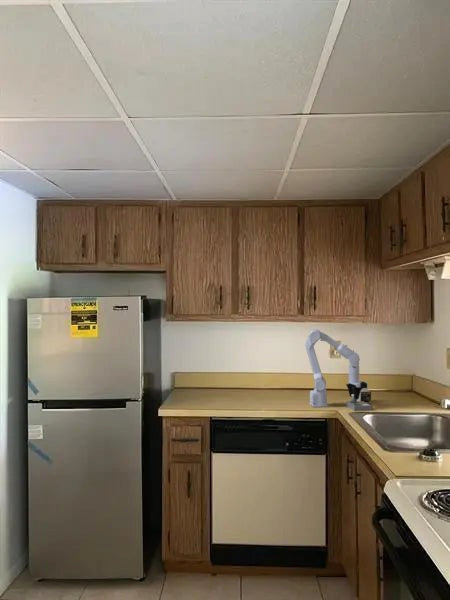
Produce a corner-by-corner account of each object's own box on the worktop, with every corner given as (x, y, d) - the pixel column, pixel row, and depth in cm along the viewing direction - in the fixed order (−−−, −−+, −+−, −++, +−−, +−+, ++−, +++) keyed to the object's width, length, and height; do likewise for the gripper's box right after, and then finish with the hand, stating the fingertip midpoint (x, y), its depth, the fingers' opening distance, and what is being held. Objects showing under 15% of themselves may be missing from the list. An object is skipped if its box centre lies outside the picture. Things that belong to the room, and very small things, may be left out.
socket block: (354, 410, 269) (354, 406, 269) (346, 405, 282) (346, 401, 282) (371, 410, 270) (371, 405, 270) (363, 405, 283) (363, 400, 283)
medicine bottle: (360, 403, 288) (360, 383, 288) (354, 401, 295) (354, 381, 295) (371, 402, 290) (371, 382, 290) (364, 400, 297) (364, 380, 297)
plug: (352, 407, 277) (352, 395, 277) (350, 406, 280) (350, 394, 280) (357, 407, 277) (357, 395, 277) (355, 406, 280) (355, 394, 280)
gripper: (365, 375, 272) (365, 400, 272) (356, 372, 286) (356, 395, 286) (353, 376, 271) (353, 400, 271) (344, 372, 286) (344, 395, 286)
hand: (354, 397), depth 279 cm, fingers open, 7 cm apart
